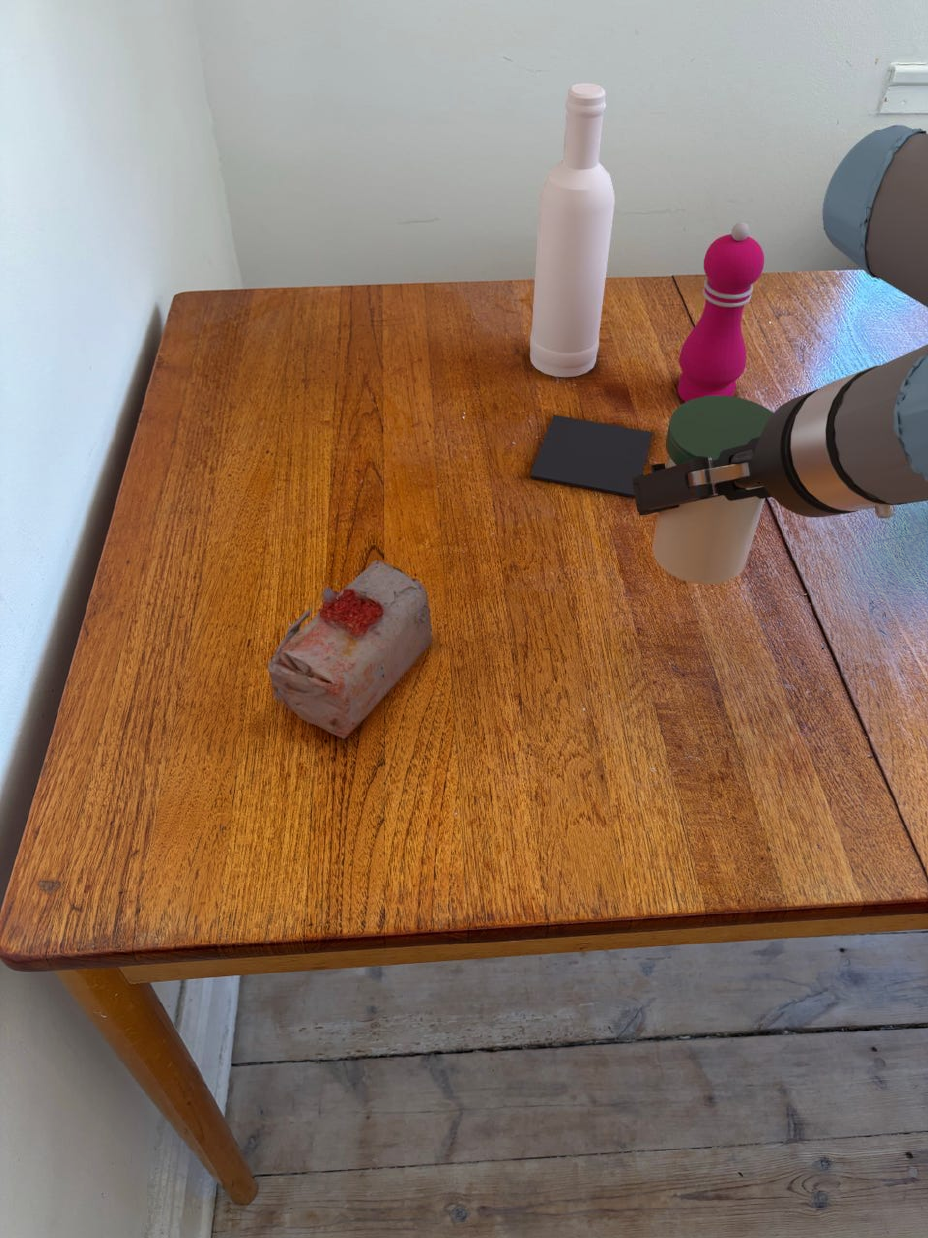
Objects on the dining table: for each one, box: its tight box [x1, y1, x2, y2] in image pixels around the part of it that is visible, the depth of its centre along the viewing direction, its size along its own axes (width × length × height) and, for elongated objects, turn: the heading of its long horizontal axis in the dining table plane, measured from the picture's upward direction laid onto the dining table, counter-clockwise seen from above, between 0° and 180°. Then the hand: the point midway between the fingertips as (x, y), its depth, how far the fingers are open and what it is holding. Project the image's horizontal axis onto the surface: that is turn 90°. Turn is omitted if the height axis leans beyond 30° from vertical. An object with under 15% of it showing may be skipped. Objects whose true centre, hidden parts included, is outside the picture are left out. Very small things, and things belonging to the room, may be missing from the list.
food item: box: [267, 560, 434, 740], centre depth 82 cm, size 14×8×10 cm, turn 147°
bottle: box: [529, 82, 616, 379], centre depth 108 cm, size 8×8×30 cm
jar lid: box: [665, 396, 774, 465], centre depth 73 cm, size 8×8×2 cm
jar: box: [651, 455, 766, 586], centre depth 77 cm, size 8×8×12 cm
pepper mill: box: [677, 221, 765, 403], centre depth 107 cm, size 7×7×20 cm
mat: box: [529, 414, 654, 499], centre depth 106 cm, size 11×11×1 cm
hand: (689, 490), depth 81 cm, fingers closed on jar, 8 cm apart
